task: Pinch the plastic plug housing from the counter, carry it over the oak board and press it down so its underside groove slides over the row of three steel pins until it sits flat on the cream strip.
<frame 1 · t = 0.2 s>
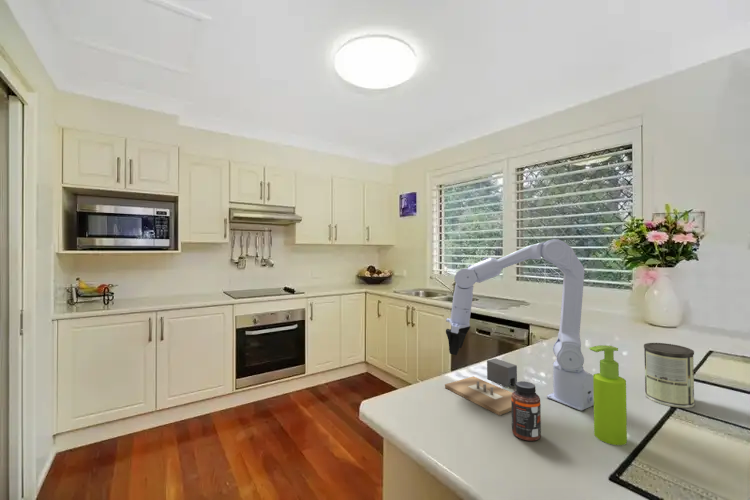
hand: (455, 350, 103), 10 cm above the worktop, tool pointing down, fingers open, 7 cm apart
soap dispenser: (607, 438, 73), on the worktop
coffee can: (668, 400, 91), on the worktop
supplement bottle: (526, 435, 75), on the worktop
plug housing: (501, 382, 105), on the worktop
pin board: (484, 395, 96), on the worktop
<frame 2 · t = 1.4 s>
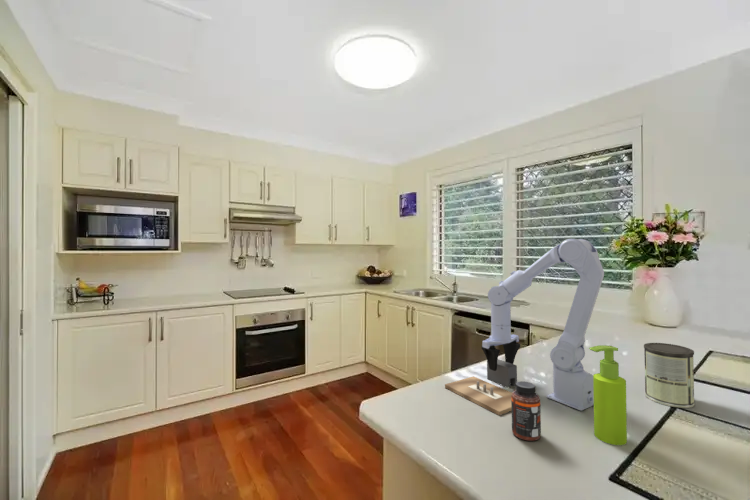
hand: (501, 367, 105), 4 cm above the worktop, tool pointing down, fingers open, 7 cm apart
nothing on the worktop moved.
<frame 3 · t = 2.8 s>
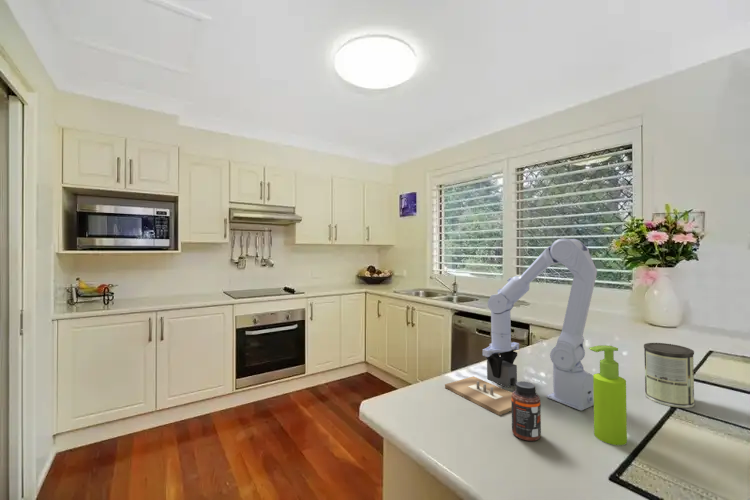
hand: (501, 375, 105), 2 cm above the worktop, tool pointing down, fingers closed on plug housing, 4 cm apart
plug housing: (501, 381, 105), on the worktop, touching gripper
everything else where it was.
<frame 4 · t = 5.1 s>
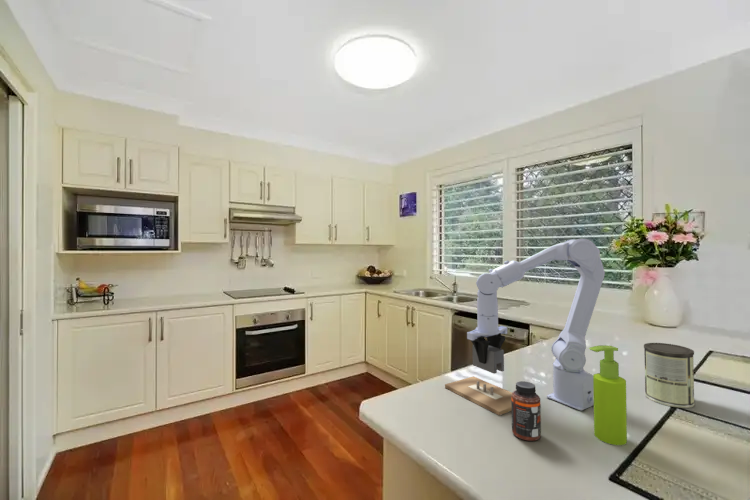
hand: (488, 361, 98), 9 cm above the worktop, tool pointing down, fingers closed on plug housing, 4 cm apart
plug housing: (488, 368, 98), point 7 cm above the worktop, touching gripper
everything else where it was.
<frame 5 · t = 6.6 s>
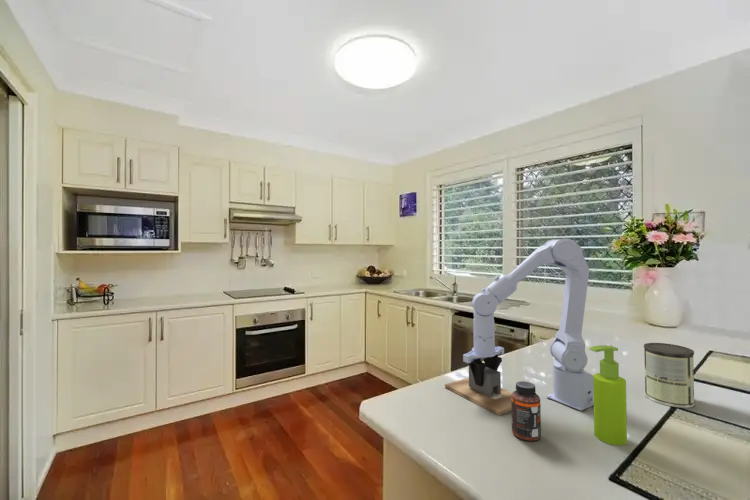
hand: (484, 383, 96), 3 cm above the worktop, tool pointing down, fingers closed on plug housing, 4 cm apart
plug housing: (484, 390, 96), point 1 cm above the worktop, touching gripper
everything else where it was.
when the fingers open (3 cm above the worktop, at t = 7.7 s): plug housing stays where it is, resting on pin board.
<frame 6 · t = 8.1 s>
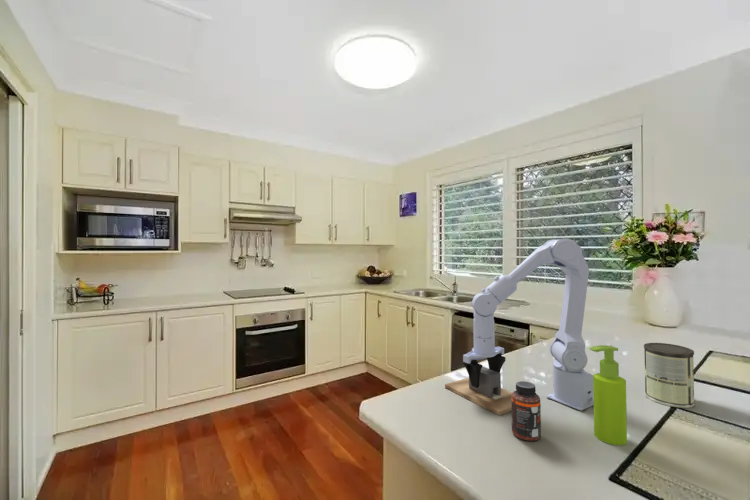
hand: (484, 383, 96), 3 cm above the worktop, tool pointing down, fingers open, 7 cm apart
plug housing: (484, 391, 96), point 1 cm above the worktop, touching pin board
everything else where it was.
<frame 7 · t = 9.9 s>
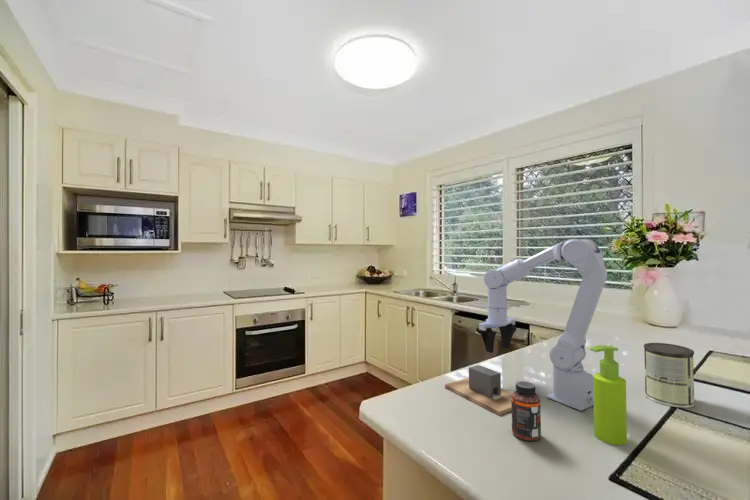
hand: (497, 349, 107), 9 cm above the worktop, tool pointing down, fingers open, 7 cm apart
nothing on the worktop moved.
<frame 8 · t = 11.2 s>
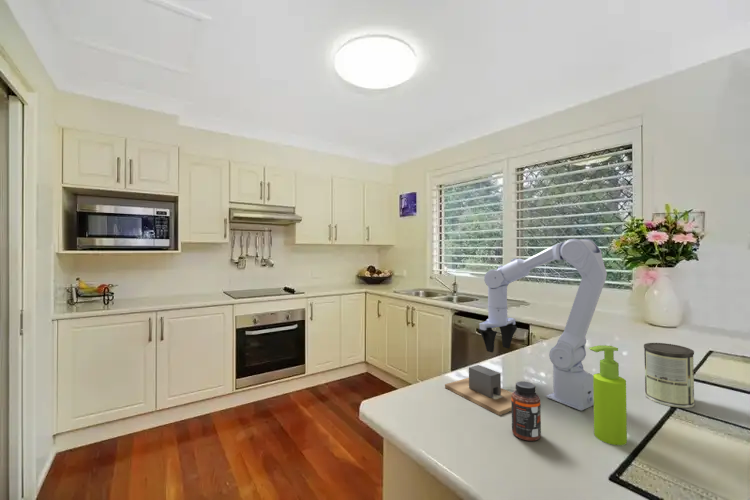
hand: (498, 349, 107), 9 cm above the worktop, tool pointing down, fingers open, 7 cm apart
nothing on the worktop moved.
at the end: plug housing 0.1 cm off-centre on the pin board, point 1.1 cm above the pin board's base; plug housing tilted 0°; the gripper is holding nothing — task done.
